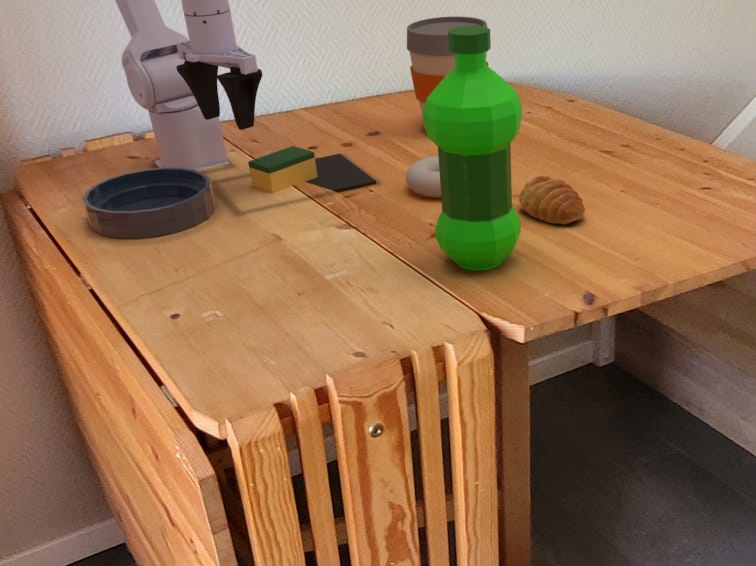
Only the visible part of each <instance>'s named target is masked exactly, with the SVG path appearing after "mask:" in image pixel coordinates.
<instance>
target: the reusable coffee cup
mask: <svg viewBox="0 0 756 566" xmlns="http://www.w3.org/2000/svg"><path fill="white" fill-rule="evenodd" d="M460 26H485V27H487V28H488V24H487V22H486V20H485V19H481V18H478V17H471V16H457V15H456V16H439V17H438V16H437V17H431V18H425V19H420V20H417V21H413V22H412V23H410V24H408V26H407V27H406V50H407V51H409V56H410V61H411V66H410V67H409V70H410V75H411V81H412V84H413V90H414V95H415V99H416V100H417V101H418V102H419V107H420V112H421V117H422V122H423V123H424V115H423V110H424V107H425V103H426V99H427V98H428V96H429V95H430V94H431V93H432V92H433V91H434V89H435V88H436V87H437V86H438V85H439V83H440V82H441V81H442V80H443V79H444V78H445V77H446V76H447V75H448V74H449V73H450V72H451V71H452V70H453V68H454V67H455V54H454V53H452V52H450V51H449V41H448V31H449V30H450V29H452V28H456V27H460ZM487 53H488V51H486V56H488V55H487ZM486 65H487V66H488V67H489V62H488V61H487V60H486ZM423 128H424V131H425V132H426V129H425V125H424V124H423Z"/></svg>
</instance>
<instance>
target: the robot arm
mask: <svg viewBox="0 0 756 566" xmlns="http://www.w3.org/2000/svg"><path fill="white" fill-rule="evenodd" d="M114 1H115V3H116V5H117V8H118V10H119V12H120V15H121V17H122V19H123V21H124V24H125V26H126V29H127V30H128V33H129V35H130V37H131V38H130V40H129V41H128V43H127V45H126V47H124V50H123V52H122V56H121V65H122V67H123V70H124V74H125V76H126V77H125V78H126V82H127V86H128V89H129V92H130V94H131V96H132V98H133V99H134V101H135V102H136V104H138V106H140V107H141V108H142V109H145V110H147V111H148V115H149V120H150V123H151V127H152V131H153V135H154V139H155V143H156V148H157V152H158V155H159V159H157V160H155V161H154V163H155V165H156V166H157V168H184V169H191V170H196V171H200V170H206V169H211V168H214V167H220V166H224V165H229V164H230V162H229V159H228V154H227V150H226V144H225V140H224V134H223V130H222V124H221V119H220V117H221V106H220V105H221V104H220V98H219V89H218V82H219V83H220V84H221V86H222V88H223V91H224V92H225V94H226V97H227V98H228V101H229V104H230V106H231V111H232V114H233V118H234V122H235V125H236V127H237V128H238V130H241V131H244V130H246V129H250V128H252V127H253V128H254V126H255V112H256V101H257V94H258V89H259V86H260V84H261V81H262V78H263V71H262V69H260V68H258V64H257V59H256V55H255V54H253V53H250V52H248V51H246V50H245V49H243V48H242V47H240V46H239V45H237V40H236V34H235V29H234V23H233V18H232V12H231V6H230V2H229V0H180V1H181V7H182V11H183V16H184V20H185V21H184V22H185V26H186V30H187V36H188V37H187V36H186V35H184V34H182V33H180V32H178V31H176V30H175V29H172V28H170V27H169V26H167V25H166V24H165V21H164V19H163V17H162V14H161V12H160V10H159V7H158V5H157V3H156V0H114ZM219 67H221V68H225V69H229V71H227V72H224V73H221V74H218V73H219Z"/></svg>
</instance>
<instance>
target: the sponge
mask: <svg viewBox="0 0 756 566" xmlns="http://www.w3.org/2000/svg"><path fill="white" fill-rule="evenodd" d="M315 159H316V157H315V152H314V151H312V150H308V149H305V148H302V147H299V146H295V145H291V146H289V147H285V148H282V149H280V150H276V151H274V152H271V153H268V154H265V155H262V156H260V157H257V158H255V159H251V160H249V161H247V163H248V167H249V168H248V169H249V175H250V179H251V184H252V187H253V188H257V189H259V190H262V191H266V192H267V193H268V192H269V193H272V194H275V193H276V192H280V191H282V190H285V189H287V188H290V187H293V186H296V185H299V184H301V183H303V182H305V183H307V182H306V181H309V180H312V179H314V178H317V170H316V163H315Z"/></svg>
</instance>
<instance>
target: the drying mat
mask: <svg viewBox="0 0 756 566" xmlns="http://www.w3.org/2000/svg"><path fill="white" fill-rule="evenodd" d="M315 163H316V170H317V178H314V179H312V180H309V181H306V182H305V183H307V184H310V185H314V186H317V187H320V188H323V189H326V190H329V191H332V192H335V193H340V192H344V191H349V190H353V189H358V188H364V187H367V186H372V185H376V184H377V180H376V179H374V178H373V177H372V176H370V175H369V174H368V173H366V172H365V171H364V170H363V169H361V168H360V167H358V166H357V165H356V164H355V163H353V162H352V161H351V160H350V159H348V158H347V157H346V156H344V155H343V154H341V153H335V154H331V155H326V156H321V157H315Z"/></svg>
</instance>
